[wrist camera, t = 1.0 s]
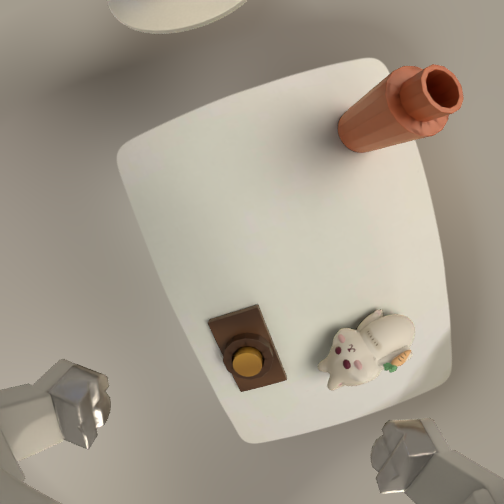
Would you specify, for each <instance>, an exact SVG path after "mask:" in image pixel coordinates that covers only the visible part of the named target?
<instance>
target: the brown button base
mask: <svg viewBox="0 0 504 504" xmlns="http://www.w3.org/2000/svg"><path fill="white" fill-rule="evenodd" d="M208 325H209V327H210V329H211V331H212V333H213V335H214V338H215V340H216V342H217V344H218V346H219V348H220V350H221V352H222V354H223V362H224V364H225V366H226V368H227V370H228V371H229V372H230V373H232V375H233V377H234V379H235V381H236V383H237V385H238V387H239V389H240V391H241V392H243V391H247V390H251V389H255V388H259V387H263V386H267V385H271V384H274V383H278V382H282V381H285V380H287V376H286V373H285V371H284V368H283V366H282V363H281V361H280V358H279V356H278V353H277V351H276V348H275V346H274V343H273V341H272V338H271V336H270V333H269V331H268V328H267V326H266V323H265V321H264V318H263V315H262V313H261V310H260V308H259V305H254V306H251V307H248V308H245V309H242V310H239V311H235V312H232V313H229V314H226V315H222V316H219V317H216V318H213V319H209V321H208ZM243 347H253V348H255V349H257V350H258V351H259V352H260V353H261V355H262V368H261V370H260V372H259V373H258V374H256V375H254V376H250V377H246V376H242V375H240V374H238V373H237V372H236V371H235V370H234V368H233V359H234V355H235V353H236V351H237V350H239V349H240V348H243Z"/></svg>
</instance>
